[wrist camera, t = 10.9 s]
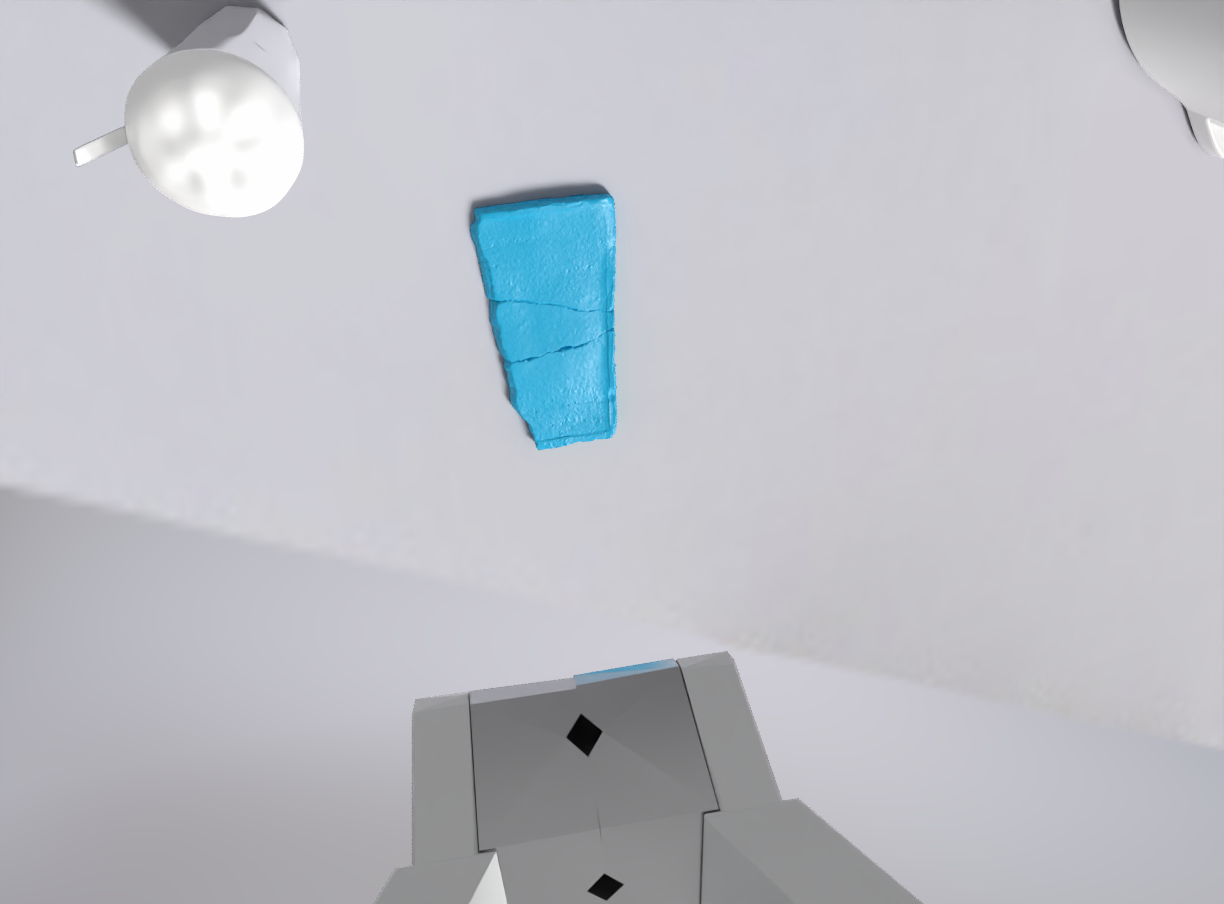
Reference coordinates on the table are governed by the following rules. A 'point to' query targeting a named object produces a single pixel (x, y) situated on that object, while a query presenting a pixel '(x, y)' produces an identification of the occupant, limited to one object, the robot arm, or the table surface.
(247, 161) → the milkshake
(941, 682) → the table surface
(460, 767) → the robot arm
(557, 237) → the sponge
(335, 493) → the table surface
